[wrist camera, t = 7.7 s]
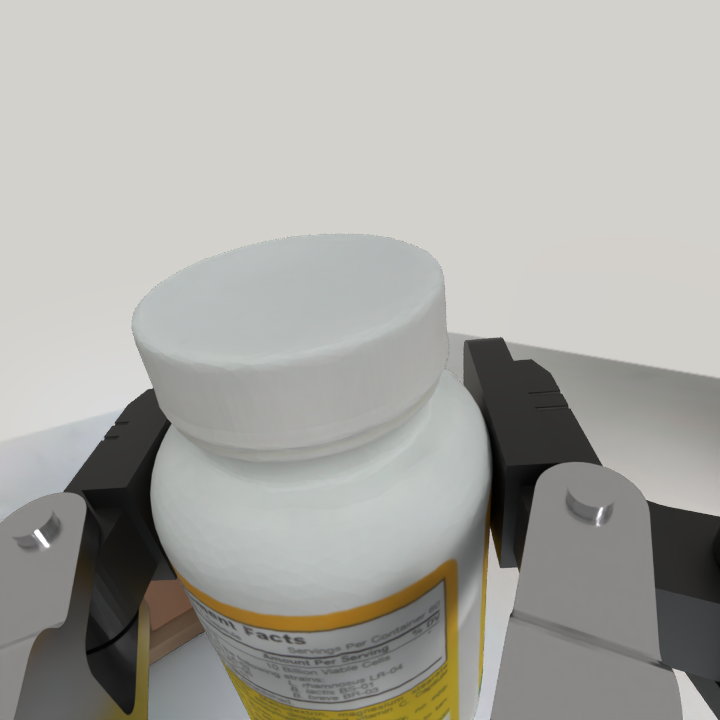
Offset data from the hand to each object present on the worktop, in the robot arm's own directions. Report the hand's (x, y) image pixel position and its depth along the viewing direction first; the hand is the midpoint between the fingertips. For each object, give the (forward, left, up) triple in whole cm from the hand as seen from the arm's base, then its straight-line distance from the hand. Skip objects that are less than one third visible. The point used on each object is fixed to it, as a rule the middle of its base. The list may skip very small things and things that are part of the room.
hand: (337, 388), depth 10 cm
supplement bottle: (+1, +2, -6) cm, 7 cm away
